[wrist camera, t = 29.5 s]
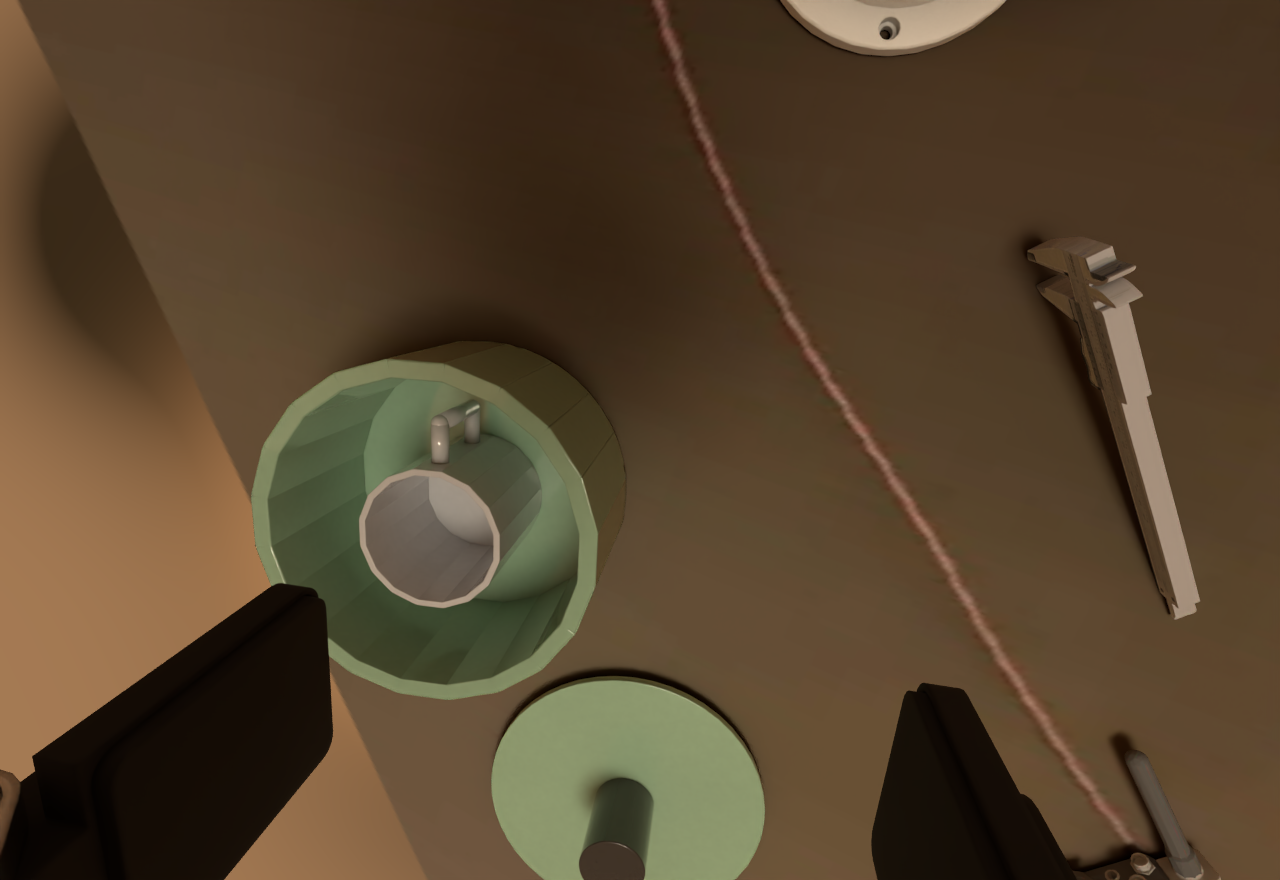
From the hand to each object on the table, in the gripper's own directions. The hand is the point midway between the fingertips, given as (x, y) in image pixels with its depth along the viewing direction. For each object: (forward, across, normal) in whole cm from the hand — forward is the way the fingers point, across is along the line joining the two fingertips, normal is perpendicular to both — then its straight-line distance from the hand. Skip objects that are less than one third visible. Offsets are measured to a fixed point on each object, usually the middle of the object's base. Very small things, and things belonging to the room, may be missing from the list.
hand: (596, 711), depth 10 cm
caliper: (+25, -20, 0) cm, 32 cm away
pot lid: (+23, +1, +25) cm, 34 cm away
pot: (+24, +11, +6) cm, 27 cm away
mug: (+24, +11, +5) cm, 27 cm away
